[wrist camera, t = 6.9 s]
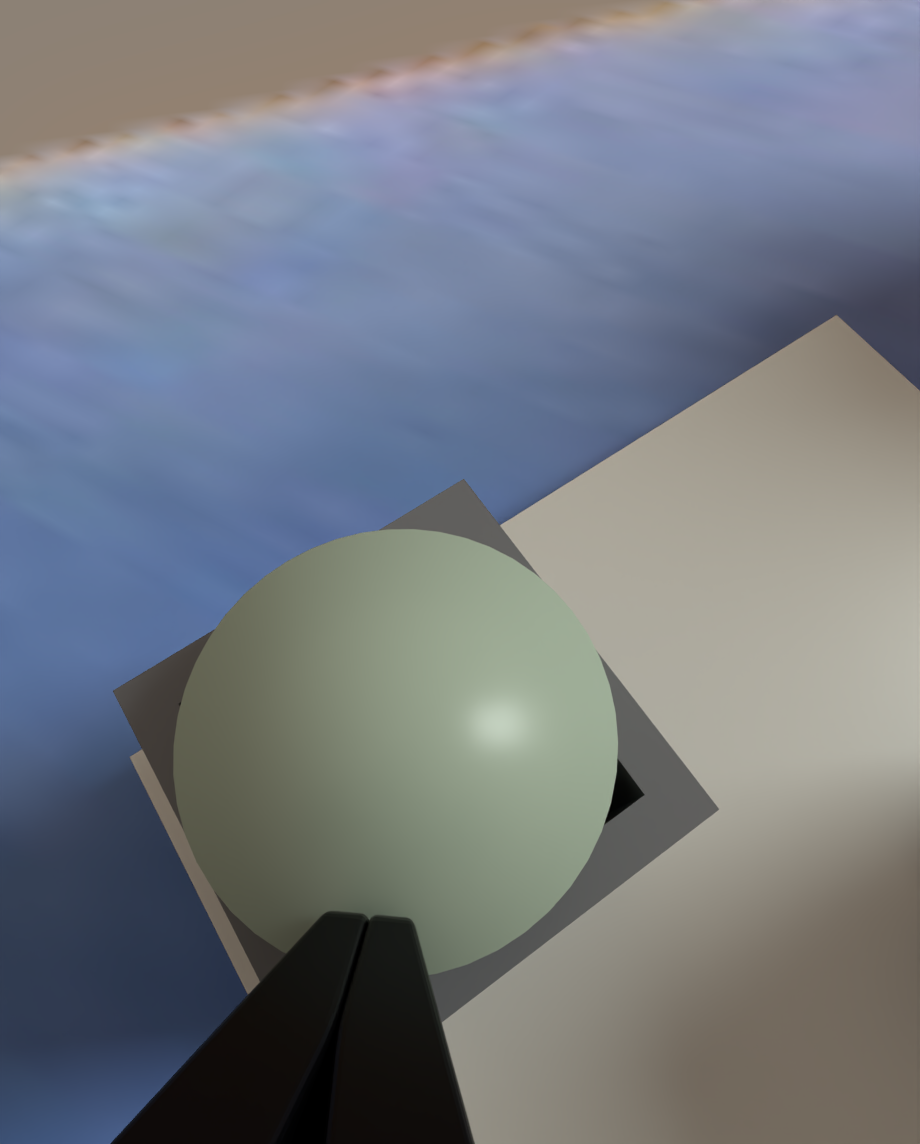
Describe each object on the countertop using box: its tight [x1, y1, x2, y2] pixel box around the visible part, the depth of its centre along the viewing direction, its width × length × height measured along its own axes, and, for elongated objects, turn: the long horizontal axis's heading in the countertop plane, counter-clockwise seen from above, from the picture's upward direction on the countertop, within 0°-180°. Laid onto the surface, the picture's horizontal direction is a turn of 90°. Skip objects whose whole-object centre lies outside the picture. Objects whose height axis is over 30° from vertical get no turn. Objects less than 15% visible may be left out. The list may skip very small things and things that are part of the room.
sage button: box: [173, 529, 618, 975], centre depth 11 cm, size 5×5×7 cm
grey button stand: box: [113, 315, 920, 1144], centre depth 12 cm, size 19×17×7 cm
